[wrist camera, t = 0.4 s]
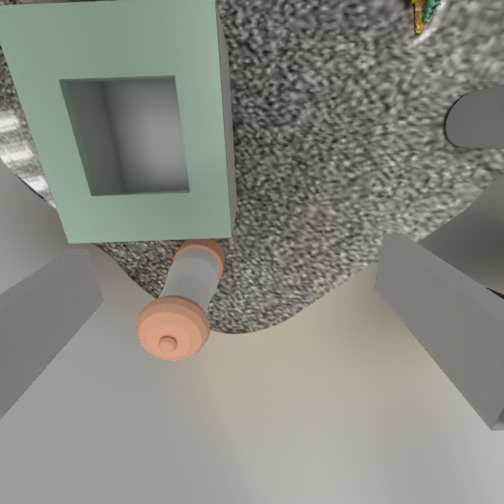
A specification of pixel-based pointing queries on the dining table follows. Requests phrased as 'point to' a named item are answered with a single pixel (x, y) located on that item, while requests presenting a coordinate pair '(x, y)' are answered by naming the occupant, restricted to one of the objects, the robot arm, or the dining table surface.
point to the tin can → (53, 1)
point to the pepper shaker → (183, 302)
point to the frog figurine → (424, 12)
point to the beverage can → (478, 119)
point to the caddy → (128, 115)
